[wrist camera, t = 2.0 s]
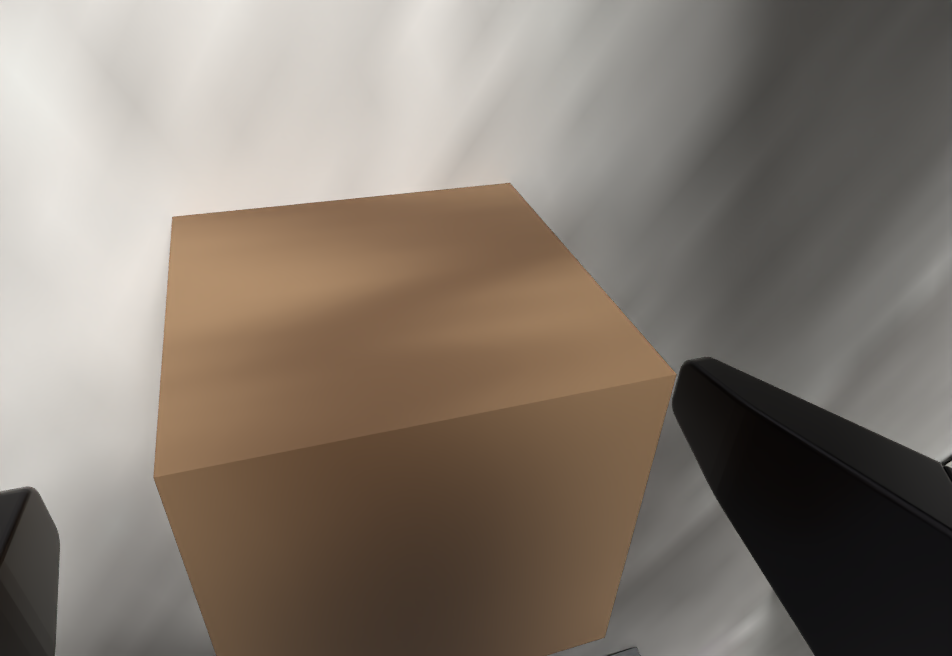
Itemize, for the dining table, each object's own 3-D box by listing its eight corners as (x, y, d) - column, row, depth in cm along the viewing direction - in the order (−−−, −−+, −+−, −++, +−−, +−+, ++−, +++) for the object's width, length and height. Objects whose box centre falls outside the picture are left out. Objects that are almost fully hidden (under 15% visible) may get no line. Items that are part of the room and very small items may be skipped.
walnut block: (508, 180, 11) (676, 374, 7) (491, 412, 14) (604, 637, 10) (172, 214, 9) (153, 478, 6) (233, 463, 12) (248, 747, 9)
